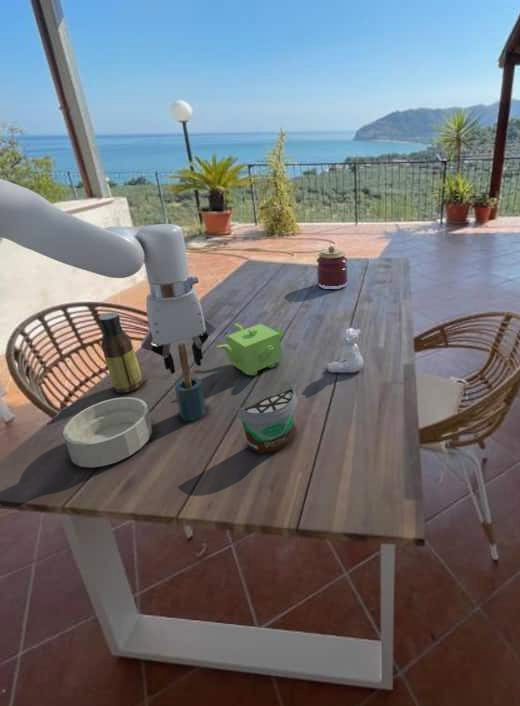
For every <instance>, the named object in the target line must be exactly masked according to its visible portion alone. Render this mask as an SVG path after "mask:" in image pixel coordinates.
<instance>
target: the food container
mask: <svg viewBox="0 0 520 706" xmlns="http://www.w3.org/2000/svg"><path fill="white" fill-rule="evenodd" d="M297 405H298V396H297V394H296V391H295V388H293V386H292V385H291V384H290V385H289V389H287V390H285V391H284V392H281V393H278V394H275V395H272V396H267V397H265V398H263V399H261V400H260V401H258V402H256V403H253V405H250V406H248V407H246V408H242V407H241V406H238V409H237V414H236V415H237V418H238V419H239V420H241V423H242V427H243V430H244V434H245V438H246V441H247V446H248V447H249V449H251V450H252V451H254V452H256V453H261V454H269V453H270V454H271V453H275V452H278V451H281V450H283V449H284V448H287V446H288V445H290V443H291V441H292V439H293V435H294V415H295V413H294V412H295V411H294V410H295V409H296V407H297Z"/></svg>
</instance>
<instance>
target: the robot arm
mask: <svg viewBox="0 0 520 706" xmlns="http://www.w3.org/2000/svg"><path fill="white" fill-rule="evenodd" d="M184 237H185V236H184V232H183V229H182V228H181V226H179V225H178V224H173V223H157V224H150V225H146V226H118V225H117V226H116V225H115V226H108V227H105V228H104V227H101V226H99V225H96V224H93V223H91V222H88V221H85V220H84V219H81V218H79V217H76V216H74V215H72V214H71V213H68V212H67V211H65V210H62V209H61V208H59V207H57V206H56V205H54V204H53V203H52V202H50V201H49V200H47V199H46V198H45V197H44V196H42V195H40V194H39V193H37V192H35V191H33V190H32V189H30V188H26V187H24V186H21V185H19V184H16V183H14V182H11V181H8V180H5V179H3V178H0V238H3V239H6V240H8V241H11V242H12V243H15V244H16V245H19V246H21V247H22V248H26V249H28V250H31V251H33V252H36V253H38V254H39V255H43V256H45V257H47V258H49V259H51V260H54V261H57V262H59V263H62V264H64V265H68V266H70V267H74V268H77V269H79V270H83V271H87V272H89V273H93V274H97V275H99V276H102V277H107V278H112V279H125V278H129V277H132V276H134V275H136V274H137V273H138V272H139V271H140V270H141V269H142V267H143V265H144V267H145V273H146V278H147V283H148V288H149V294H147V295H146V300H145V304H146V315H147V316H146V317H147V323H148V330H147V332H146V334H145V336H144V337H143V339H142V341H141V342H140V347H141V349H143V350H146V351H150V352H153V353H155V354H157V355H159V356H161V357H162V358H163V362H164V368H165V370H169V371H170V373H171V374H175V373H176V369H175V368H176V367H175V364H174V359H173V356H172V354H171V352H170V348H171V344H173V343H176V342H180V341H184V340H185V341H186V340H189V339H192V341H193V342H192V345H191V350H192V355H193V361H194V363H195V364H196V366H197V367H199V366H202V362H201V360H203V359H204V357H203V351H202V348H203V346H204V344H205V343H206V342H207V340H208V338H209V336H211V335H212V334H213V333H214V332H215V330H216V327H215V326H214V324H212V323H211V322H210V321H209V320H207V319H206V318H205V317H204V314H203V309H202V305H201V302H200V298H199V296H198V293H197V291H196V289H195V287H193V286H194V285H196V284H199V277H197V276H191V275H190V274H191V273H190V268H189V262H188V261H189V260H188V257H187V250H186V243H185V238H184Z"/></svg>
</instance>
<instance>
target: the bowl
mask: <svg viewBox="0 0 520 706" xmlns="http://www.w3.org/2000/svg"><path fill="white" fill-rule="evenodd" d="M149 411H150V410H149V406H148V404H147V403H146V402H145V400H143V399H141V398H138V397H131V396H122V397H115V398H110V399H106V400H103V401H100V402H97V403H94V404H92V405H90V406H88V407H86V408H85V409H82V410H81V411H79V412H78V413H76V414H75V415H74V416H73V417H71V418H70V420H69V421H68V422H67V423H66V424H65V425H64V429H63V432H62V435H63V439H64V442H65V446H66V448H67V451H68V454H69V458H70V460H71V462H72V463H73V464H75V465H76V466H78V467H81V468H88V469H89V468H90V469H93V468H100V467H105V466H109V465H113V464H115V463H118V462H120V461H123V460H124V459H126V458H128V457H130V456H132V455H134V454H135V453H136V452H138V451H139V450H140V449H142V448H143V446H145V444H147V443H148V441H149V440H150V438H151V436H152V434H153V425H152V421H151V415H150V412H149Z"/></svg>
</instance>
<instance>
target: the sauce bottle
mask: <svg viewBox="0 0 520 706" xmlns="http://www.w3.org/2000/svg"><path fill="white" fill-rule="evenodd" d="M120 320H121V317H120V314H119V313H117V312H109V313H108V312H107V313H104V314H102V315H100V316H98V321H99V324H100V325H101V328H102V333H103V338H102V340H101V343H100V345H101V348H102V352H103V357H104V359H105V363H106V367H107V370H108V372H109V376H110V379H111V382H112V385H113V387H114V390H115V391H116V392H117V393H119V394H120V393H121V394H127V393H131V392H133V391H135V390H138V389H139V388H141V386H142V385H143V379H142V377H143V376H142V373H141V369H140V366H139V363H138V359H137V355H136V351H135V348H134V346H133V343H132V340H131V336H130V335H129V334H128V333H127V332H125V330H123V327H122V325H121V321H120Z"/></svg>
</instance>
